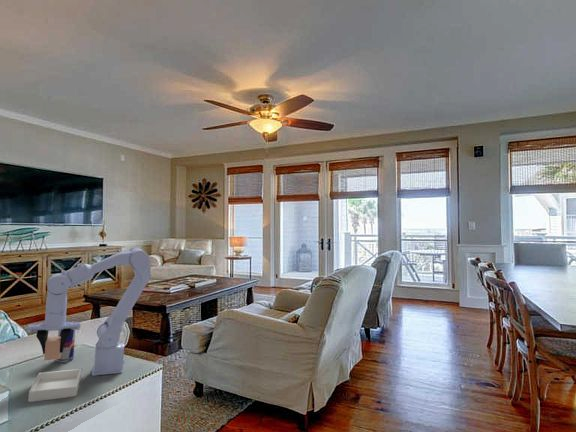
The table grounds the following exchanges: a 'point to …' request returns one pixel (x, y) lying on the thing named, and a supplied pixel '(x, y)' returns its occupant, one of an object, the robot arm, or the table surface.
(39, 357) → the table surface
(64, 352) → the energy drink
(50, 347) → the block
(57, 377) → the tray
